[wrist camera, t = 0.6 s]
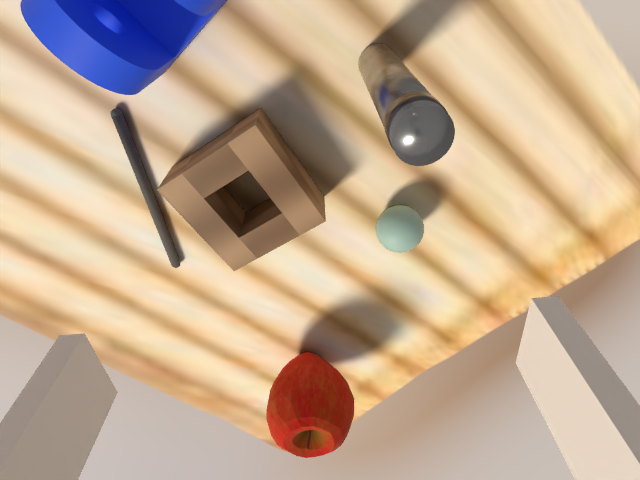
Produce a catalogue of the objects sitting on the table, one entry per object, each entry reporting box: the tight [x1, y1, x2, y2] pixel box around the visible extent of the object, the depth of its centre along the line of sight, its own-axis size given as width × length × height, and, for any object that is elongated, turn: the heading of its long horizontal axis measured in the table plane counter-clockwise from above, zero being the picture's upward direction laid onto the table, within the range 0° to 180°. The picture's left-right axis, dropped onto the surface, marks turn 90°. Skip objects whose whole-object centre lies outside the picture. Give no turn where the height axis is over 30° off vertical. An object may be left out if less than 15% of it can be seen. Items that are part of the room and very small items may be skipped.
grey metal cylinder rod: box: [359, 43, 455, 166], centre depth 24 cm, size 3×3×15 cm
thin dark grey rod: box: [111, 109, 180, 268], centre depth 35 cm, size 15×1×1 cm, turn 7°
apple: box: [267, 352, 354, 458], centre depth 43 cm, size 9×8×11 cm
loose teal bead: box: [376, 205, 424, 253], centre depth 36 cm, size 4×4×4 cm
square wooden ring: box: [157, 108, 326, 271], centre depth 33 cm, size 9×9×4 cm
